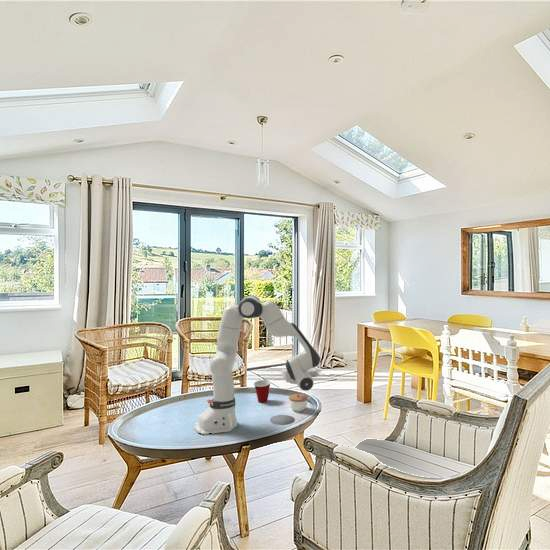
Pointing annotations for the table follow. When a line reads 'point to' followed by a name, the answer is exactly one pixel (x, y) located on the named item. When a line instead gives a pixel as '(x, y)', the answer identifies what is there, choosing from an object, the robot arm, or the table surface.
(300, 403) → the lidded jar
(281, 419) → the coaster
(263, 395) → the plastic cup
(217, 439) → the table surface
